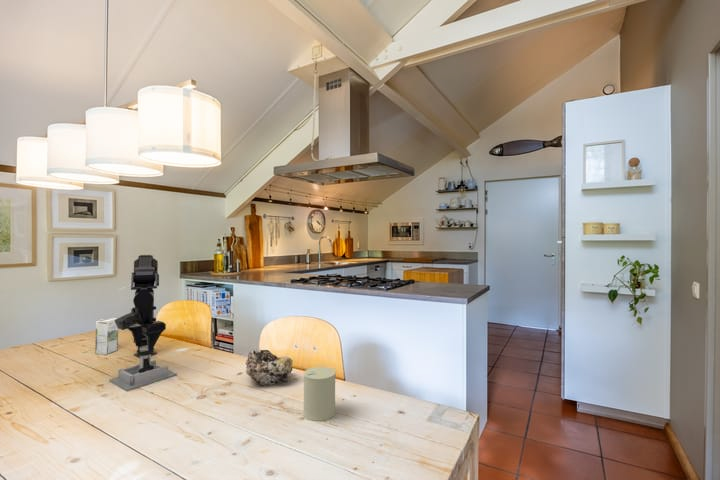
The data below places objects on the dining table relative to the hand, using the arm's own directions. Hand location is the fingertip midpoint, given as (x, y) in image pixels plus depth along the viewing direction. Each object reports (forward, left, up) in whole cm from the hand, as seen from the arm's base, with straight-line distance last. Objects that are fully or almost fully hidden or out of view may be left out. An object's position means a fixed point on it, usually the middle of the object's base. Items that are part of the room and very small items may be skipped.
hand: (144, 348), depth 120 cm
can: (+67, +17, -11) cm, 70 cm away
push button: (-1, 0, -10) cm, 10 cm away
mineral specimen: (+38, +23, -11) cm, 46 cm away
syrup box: (-43, +4, -11) cm, 45 cm away
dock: (0, 0, -11) cm, 11 cm away
